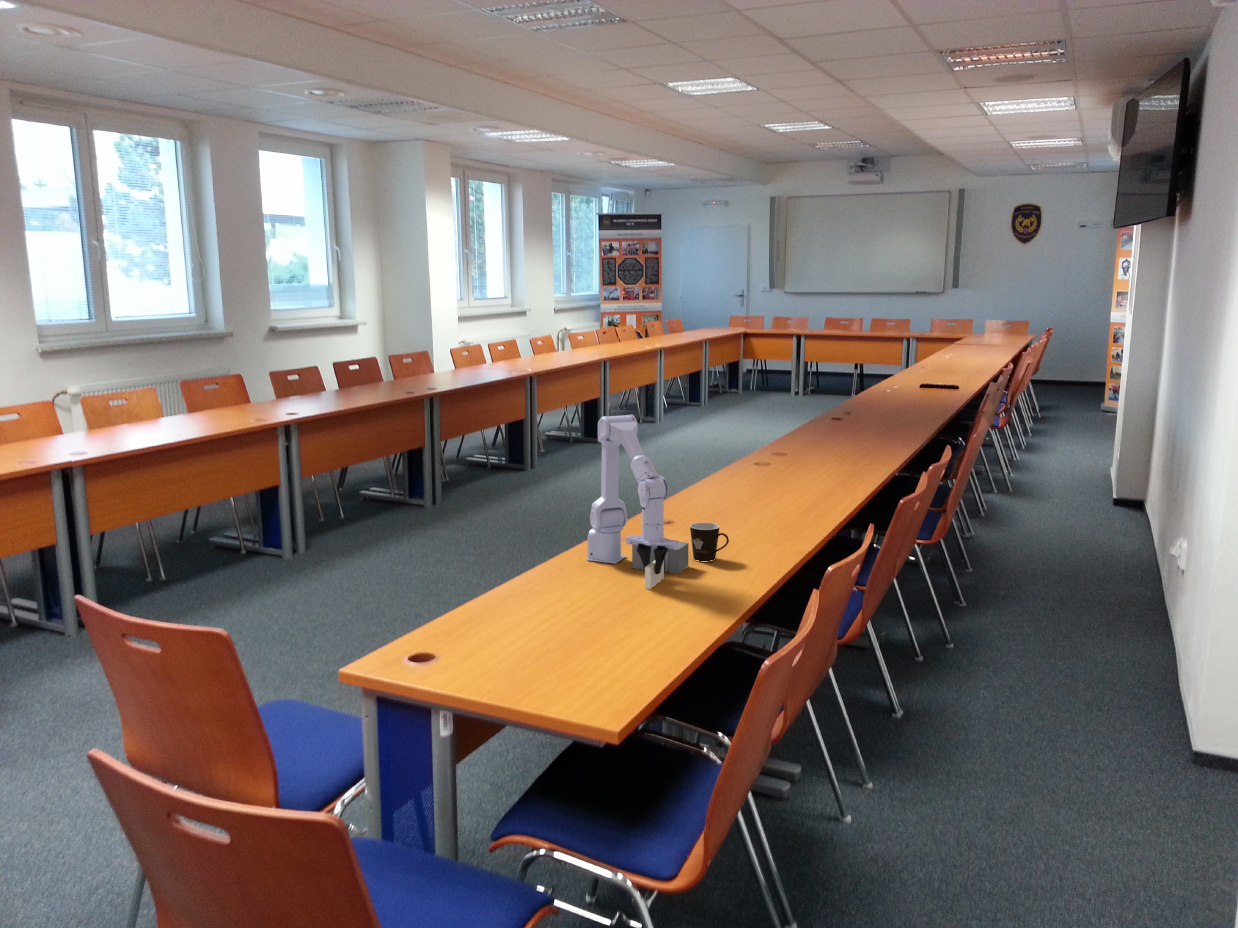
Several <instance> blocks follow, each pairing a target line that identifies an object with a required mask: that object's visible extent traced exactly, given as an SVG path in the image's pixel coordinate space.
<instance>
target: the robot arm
mask: <svg viewBox="0 0 1238 928" xmlns="http://www.w3.org/2000/svg"><path fill="white" fill-rule="evenodd" d="M638 431H639V426H638V420H637V418H636V417H635V415H634V414H627V415H611V416H610V415H609V416H606V415H605V416H604V415H603V416H602V417H600V419H599V420H598V422H597V441H598V443H601V469H600V470H601V472H600V473H601V477H600V479H601V485H600V486H601V487H600V489H601V490H600V495H601V496H599V497H598V498H597V499H596V500H595V501H594V502H592V504H591V511H590V515H589V522H590V526H591V527H592V528H591V529H590V530H589V532H588V534H587V558H586V561H590V562H598V563H605V564H606V563H607V564H618V563H619V562H620V561H622V560H624V559H625V558H627V555H626V554H622V531H623V530H624V527H625V526H627V522H628V514H627V508H626V507H627V506H626V503H625V501H623V500H621V498H620V497H619V484H620V483H619V480H620V479H619V478H620V477H619V476H620V474H619V473H620V472H619V471H620V446H621V445H622V447H623V448H624V450H625V451H626V454H627V455H628V457H629V458H630V460H631V462H630V469H631V471H632V474H633V476H634V477H635V480H636V482H637V484H638V487H637V493H638V494H637V495H638V497H639V505H640V507H641V535H627V536H626V537H625V540H626V541H625V543H626V545H632V544H635V545H638V548H637V552H638V554H639V556H640V558H641V560H642V563H643V566H644V570H643V571H645V567H646V566H647V565H649V564H650V554H651V547H652V546H654V547H657V548H656V549H654V555H655V574H659V573H661V567H662V563H663V560H664V558H665V555H666V553H667V551H668V550H669V548H672V549H675V550H677V549H679V548H680V542H681V541H680V540H675V539H670V538H666V537H664V530H665V529H664V526H665V524H664V520H665V519H664V518H665V516H664V514H665V513H664V512H665V511H664V507H665V505H664V502H665V501H664V500H665V499H666V498H667V497H668V494H669V486H668V483H667V479H666V477H663V476H662V475H661V474H658V472H657V470H656V468H655V466H654V464H653V461H652V460H651V458H650V457H649V456H646V455H645V454H644V452H643V449H642V447H641V444H640V441H639V438H638Z"/></svg>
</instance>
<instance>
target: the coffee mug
mask: <svg viewBox="0 0 1238 928" xmlns="http://www.w3.org/2000/svg"><path fill="white" fill-rule="evenodd" d="M689 530H690V538H691V547H692V549H691V550H692V557H693V558H694V559H695V560H699V561H710V560H714V559H715V560H716V556H717V552H719V551H720V550H722V549H724V548H726V547H727V545H728V544H729V542H730V540H729V536H728V535H727V534H726V533H724V532H720V525H719V524H717V523H713V522H695V523H691V524H690V525H689ZM719 532H720V533H719ZM720 536H724V537H725V538H726V542H725V544H724V545H723V546H721V547H719V548H718V541H719V537H720ZM693 558H692V559H693ZM694 559H693V560H694ZM695 560H694V561H695Z"/></svg>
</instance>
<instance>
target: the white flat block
mask: <svg viewBox="0 0 1238 928" xmlns="http://www.w3.org/2000/svg"><path fill="white" fill-rule="evenodd" d="M664 574H665V569H664V560H663V563H662V567H661V573H659V574H655V560H654V561H653V562H652V563H650V564H649V565H647V566H646V567H645V570H644V589H645V588H646V589H645V590H652V589H653V588H654V587H655V586H657V585H658V584H659V583H661V580H662V579H663V580H664V579H665V577H664V576H665V575H664ZM663 580H662V581H663ZM658 582H659V583H658ZM657 583H658V584H657ZM656 584H657V585H656ZM652 587H653V588H652Z"/></svg>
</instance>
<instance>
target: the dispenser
mask: <svg viewBox="0 0 1238 928" xmlns="http://www.w3.org/2000/svg"><path fill="white" fill-rule="evenodd" d="M689 544H690V543H689V542H685V541H680V548H679V549H677V550H675V549H672V548H669V550H668V551H667V553H666V555H665V558H664V568H665V569H664V573H665V572H666V573H665V574H669V573H668V572H671V573H670V574H674V573H677V575H679V574H681V573H682V572H683V571H685V570H686V569H687V568H688V567H689ZM631 545H632V546H631V547H632V549H631V555H632V558H631V562H632V564H631V568H635V570H640V569H644V566H643V563H642V560H641V558H640V556H639V554H638V552H637V548H638V545H635V544H631ZM656 548H657V547H654V546H652V547H651V554H650V563H652V562H653V561H654V560H655V555H654V549H656ZM687 566H688V567H687ZM686 567H687V568H686ZM685 568H686V569H685ZM684 569H685V570H684ZM681 571H682V572H681ZM680 572H681V573H680Z"/></svg>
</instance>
